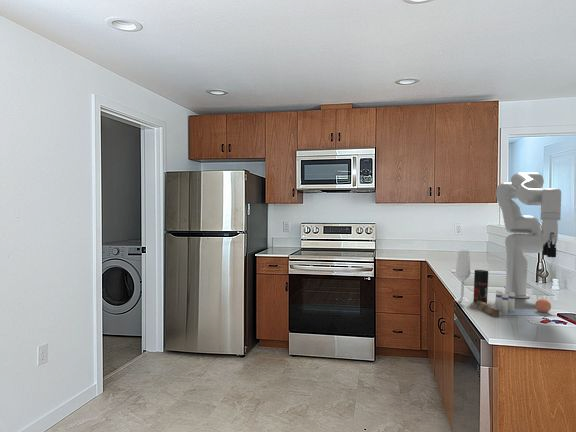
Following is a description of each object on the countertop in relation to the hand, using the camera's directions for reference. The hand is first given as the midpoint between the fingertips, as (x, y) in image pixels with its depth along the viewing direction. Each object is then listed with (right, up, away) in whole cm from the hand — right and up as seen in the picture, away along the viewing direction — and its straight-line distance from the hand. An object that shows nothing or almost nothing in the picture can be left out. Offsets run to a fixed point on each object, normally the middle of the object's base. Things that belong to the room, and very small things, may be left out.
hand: (549, 256), depth 196 cm
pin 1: (-22, -24, +1) cm, 32 cm away
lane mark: (-14, -24, -1) cm, 28 cm away
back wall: (-28, -24, -2) cm, 37 cm away
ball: (-3, -21, -1) cm, 22 cm away
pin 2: (-21, -24, -4) cm, 32 cm away
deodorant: (-23, -24, +16) cm, 37 cm away
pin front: (-17, -24, -1) cm, 30 cm away
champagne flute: (-30, -23, +20) cm, 43 cm away
